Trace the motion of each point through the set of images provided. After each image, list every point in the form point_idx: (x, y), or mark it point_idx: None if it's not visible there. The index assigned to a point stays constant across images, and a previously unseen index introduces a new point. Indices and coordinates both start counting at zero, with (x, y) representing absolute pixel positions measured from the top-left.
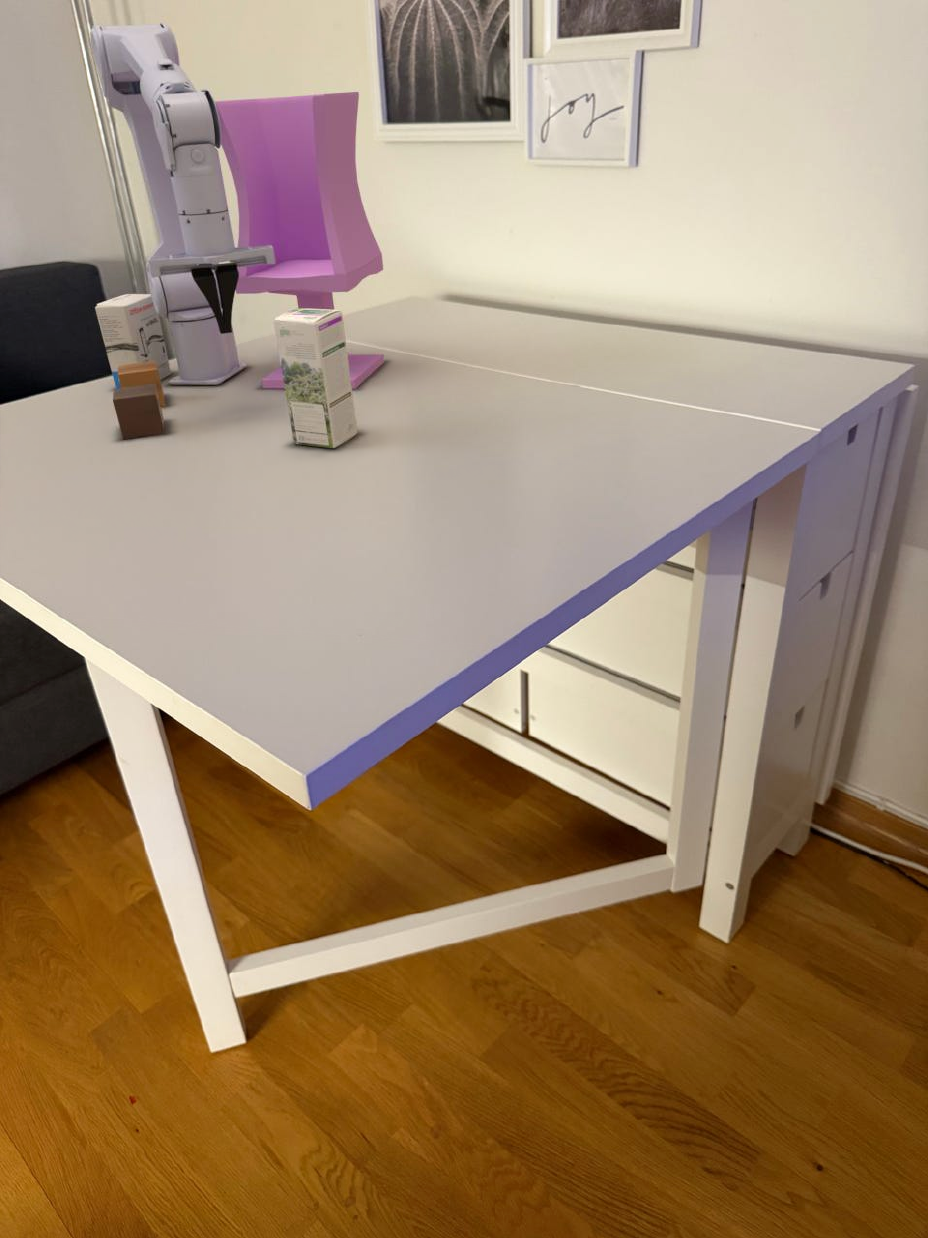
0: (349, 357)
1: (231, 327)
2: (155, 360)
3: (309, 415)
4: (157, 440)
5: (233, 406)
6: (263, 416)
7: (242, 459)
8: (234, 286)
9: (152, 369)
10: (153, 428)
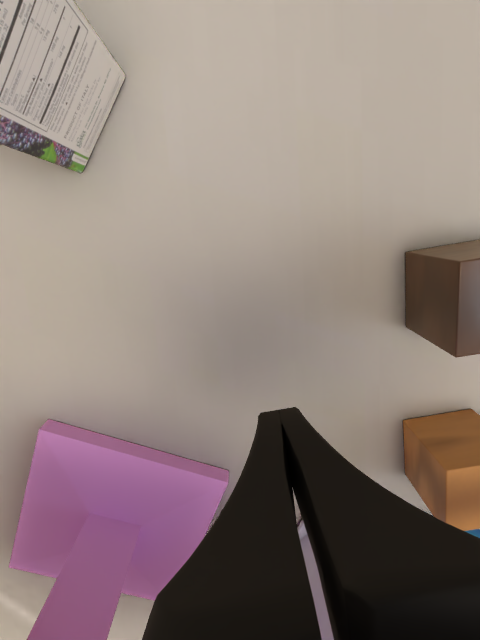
0: (62, 547)
1: (258, 421)
2: None
3: None
4: (419, 212)
5: (277, 382)
6: (213, 303)
7: (235, 4)
8: (201, 552)
9: (456, 470)
10: (432, 249)
